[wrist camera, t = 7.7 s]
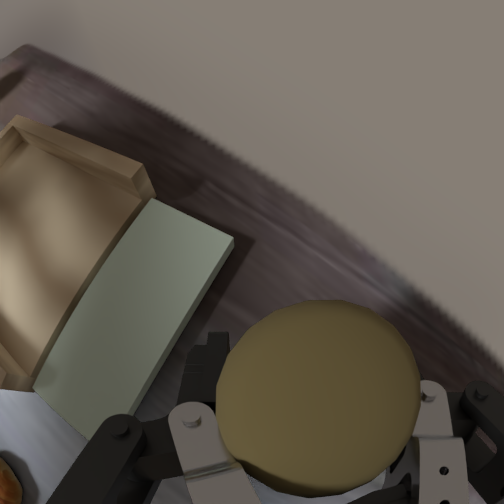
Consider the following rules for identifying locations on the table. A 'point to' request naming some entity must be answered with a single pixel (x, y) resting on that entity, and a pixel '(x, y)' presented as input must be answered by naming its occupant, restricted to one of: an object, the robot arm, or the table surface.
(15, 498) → the pastry
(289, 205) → the table surface
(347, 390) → the cork
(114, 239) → the tray
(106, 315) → the panel
